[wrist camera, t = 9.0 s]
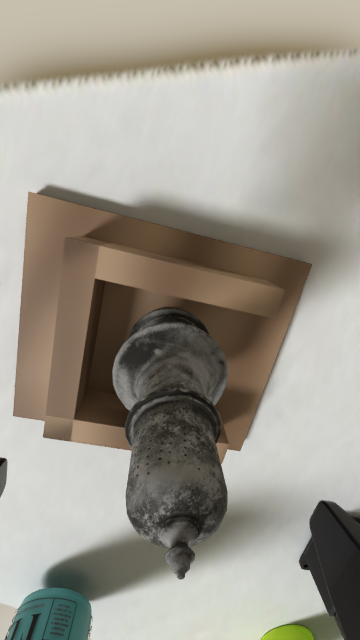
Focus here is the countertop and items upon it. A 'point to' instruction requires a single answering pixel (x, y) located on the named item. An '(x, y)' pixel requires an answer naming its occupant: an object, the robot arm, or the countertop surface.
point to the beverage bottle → (52, 616)
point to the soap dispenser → (289, 633)
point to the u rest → (138, 315)
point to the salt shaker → (173, 431)
